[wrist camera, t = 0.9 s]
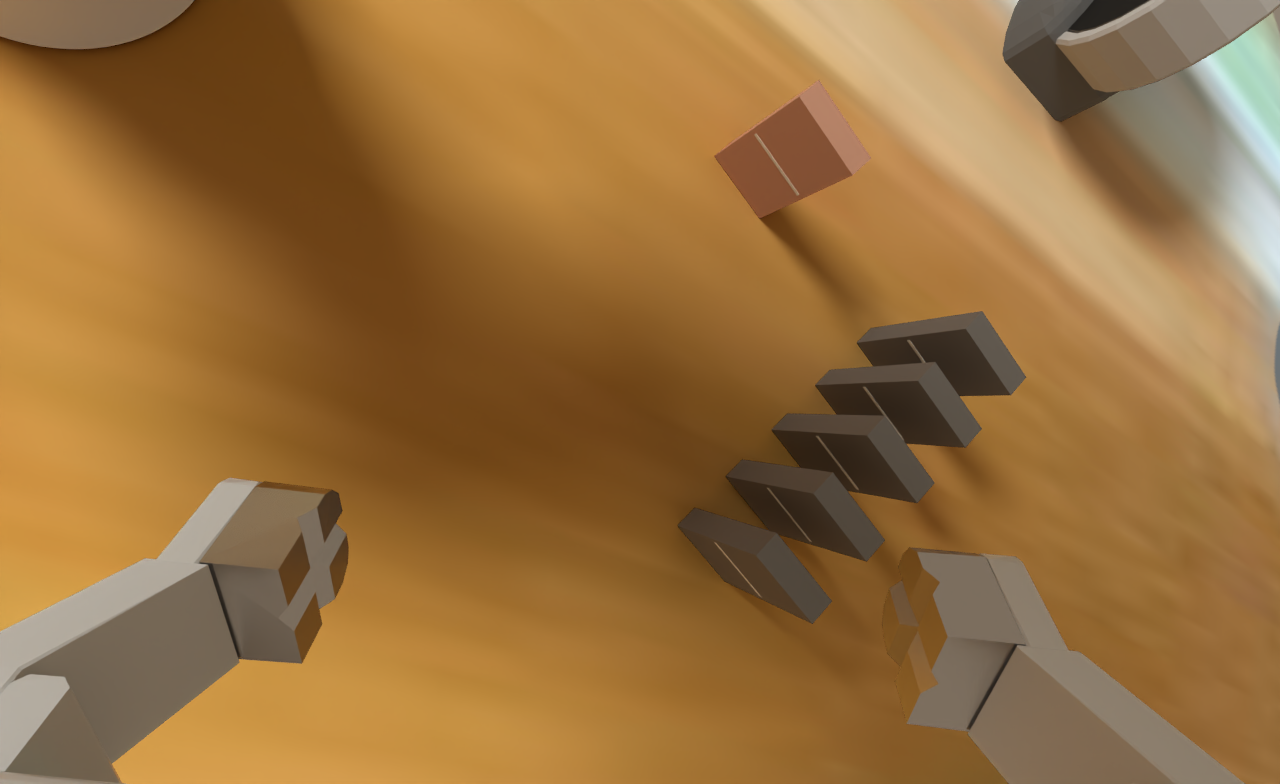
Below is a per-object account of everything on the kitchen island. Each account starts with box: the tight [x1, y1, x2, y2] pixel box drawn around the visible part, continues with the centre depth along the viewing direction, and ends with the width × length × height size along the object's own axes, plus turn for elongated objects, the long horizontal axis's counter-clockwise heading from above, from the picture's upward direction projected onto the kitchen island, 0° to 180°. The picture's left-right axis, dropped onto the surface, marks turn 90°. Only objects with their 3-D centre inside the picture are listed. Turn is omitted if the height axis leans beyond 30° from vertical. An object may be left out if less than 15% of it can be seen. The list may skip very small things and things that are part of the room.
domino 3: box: [815, 362, 982, 448], centre depth 47 cm, size 2×5×10 cm, turn 41°
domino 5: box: [726, 460, 885, 561], centre depth 44 cm, size 2×5×10 cm, turn 41°
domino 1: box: [715, 80, 871, 218], centre depth 45 cm, size 2×5×10 cm, turn 41°
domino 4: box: [772, 414, 934, 503], centre depth 46 cm, size 2×5×10 cm, turn 41°
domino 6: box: [677, 508, 832, 624], centre depth 43 cm, size 2×5×10 cm, turn 41°
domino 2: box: [857, 311, 1026, 396], centre depth 48 cm, size 2×5×10 cm, turn 41°
